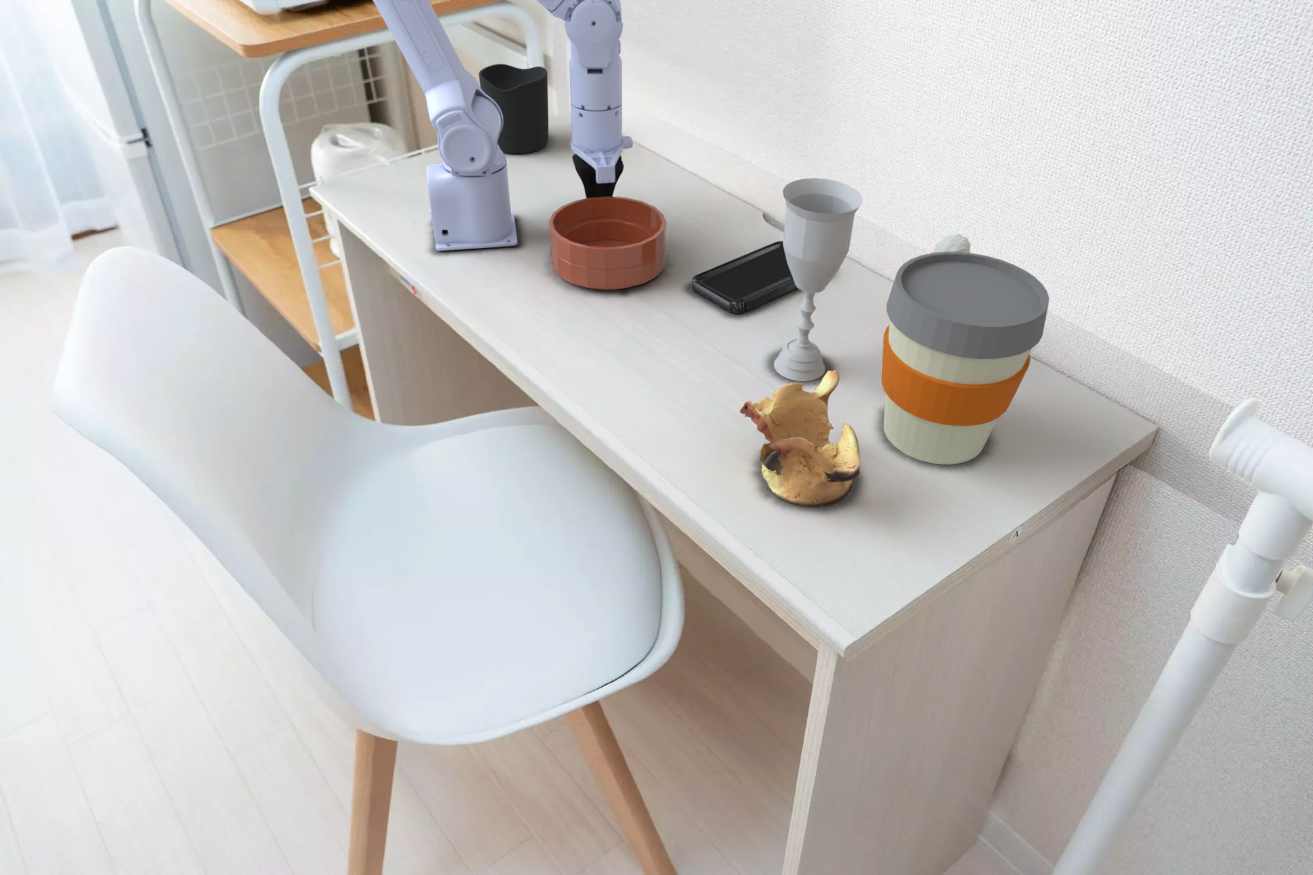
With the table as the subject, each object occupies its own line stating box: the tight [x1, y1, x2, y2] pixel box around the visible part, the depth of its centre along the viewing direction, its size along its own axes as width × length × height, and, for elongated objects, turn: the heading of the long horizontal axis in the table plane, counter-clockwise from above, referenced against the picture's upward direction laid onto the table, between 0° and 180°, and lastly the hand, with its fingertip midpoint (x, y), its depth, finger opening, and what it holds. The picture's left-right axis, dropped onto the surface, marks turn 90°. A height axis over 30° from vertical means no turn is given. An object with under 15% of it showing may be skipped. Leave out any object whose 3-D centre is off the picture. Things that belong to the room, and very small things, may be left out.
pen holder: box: [478, 63, 549, 155], centre depth 133 cm, size 9×9×10 cm
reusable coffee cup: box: [881, 252, 1050, 465], centre depth 80 cm, size 13×13×15 cm
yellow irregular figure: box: [739, 369, 862, 508], centre depth 77 cm, size 12×10×8 cm
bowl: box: [548, 196, 667, 291], centre depth 106 cm, size 13×13×6 cm
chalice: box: [773, 177, 864, 382], centre depth 87 cm, size 7×7×18 cm
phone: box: [691, 240, 798, 314], centre depth 105 cm, size 8×1×15 cm
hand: (599, 215), depth 113 cm, fingers closed
